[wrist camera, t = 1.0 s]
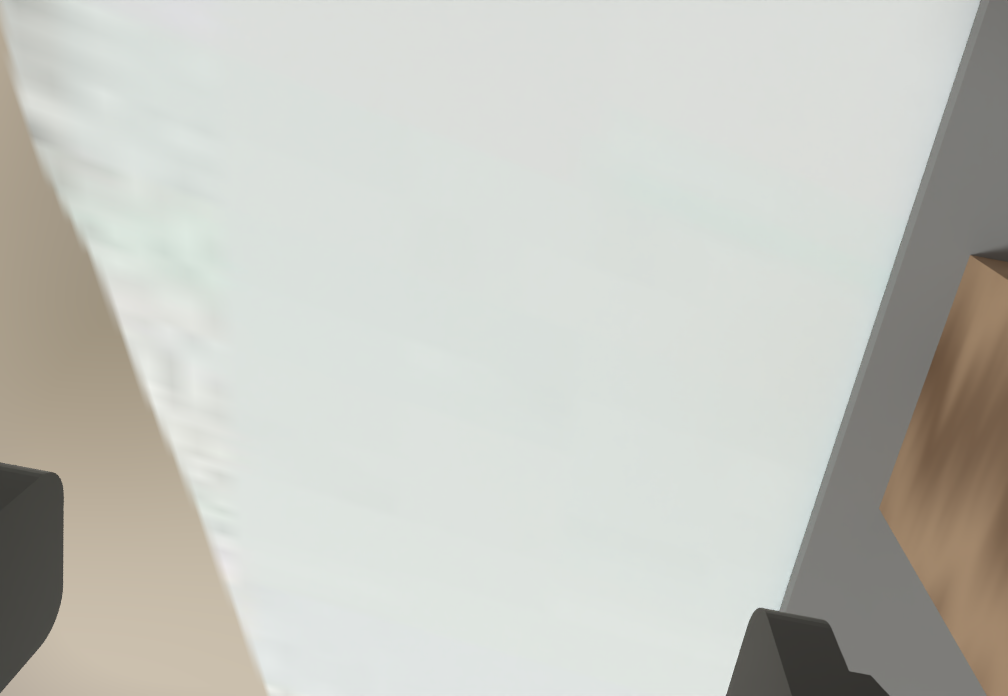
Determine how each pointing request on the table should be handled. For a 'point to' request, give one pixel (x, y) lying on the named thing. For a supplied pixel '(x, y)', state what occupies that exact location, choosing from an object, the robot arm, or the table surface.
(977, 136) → the charcoal mat
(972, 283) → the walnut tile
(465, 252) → the table surface
